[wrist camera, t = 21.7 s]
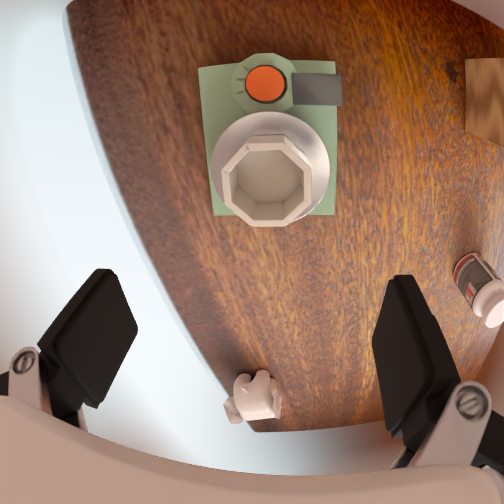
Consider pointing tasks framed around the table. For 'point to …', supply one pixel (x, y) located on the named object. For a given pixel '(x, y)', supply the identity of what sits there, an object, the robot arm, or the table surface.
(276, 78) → the tare button
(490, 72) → the stand
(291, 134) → the scale pan
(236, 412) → the elephant figurine
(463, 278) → the pill bottle
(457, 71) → the table surface
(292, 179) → the bowl
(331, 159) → the scale
